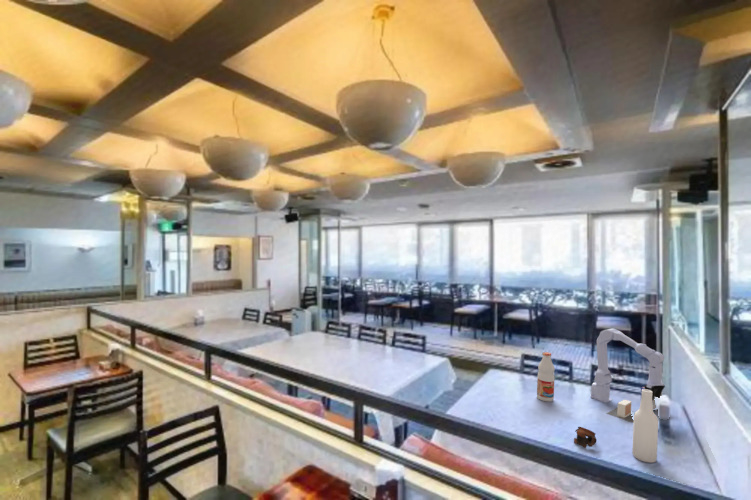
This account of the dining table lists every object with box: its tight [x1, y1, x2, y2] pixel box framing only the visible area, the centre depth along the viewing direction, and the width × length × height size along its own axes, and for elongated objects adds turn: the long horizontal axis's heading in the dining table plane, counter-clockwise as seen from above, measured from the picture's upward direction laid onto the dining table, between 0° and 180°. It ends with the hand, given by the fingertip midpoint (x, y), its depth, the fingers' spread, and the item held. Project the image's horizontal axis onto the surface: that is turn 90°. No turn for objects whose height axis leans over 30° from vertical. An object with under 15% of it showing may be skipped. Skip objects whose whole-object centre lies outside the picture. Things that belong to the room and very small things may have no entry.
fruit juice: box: [536, 351, 555, 403], centre depth 230 cm, size 9×9×28 cm
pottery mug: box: [573, 426, 597, 449], centre depth 177 cm, size 12×10×8 cm
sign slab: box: [617, 399, 632, 418], centre depth 210 cm, size 4×9×7 cm, turn 126°
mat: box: [606, 406, 634, 424], centre depth 210 cm, size 14×16×1 cm
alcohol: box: [631, 389, 659, 464], centre depth 167 cm, size 9×9×30 cm
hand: (654, 398), depth 210 cm, fingers open, 7 cm apart
